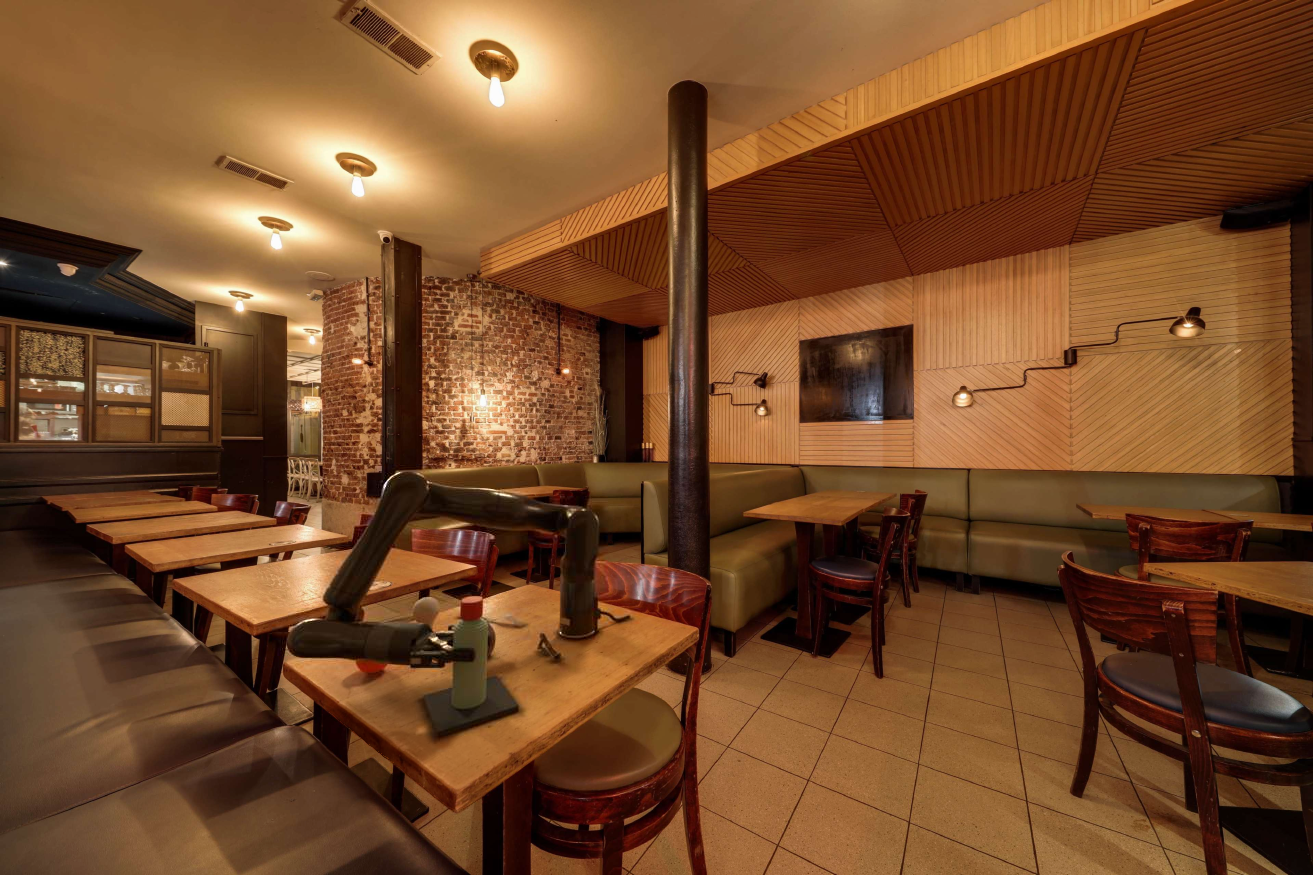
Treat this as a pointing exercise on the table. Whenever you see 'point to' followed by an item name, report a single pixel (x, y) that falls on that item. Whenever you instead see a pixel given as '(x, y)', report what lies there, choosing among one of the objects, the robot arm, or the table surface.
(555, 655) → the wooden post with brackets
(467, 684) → the bottle
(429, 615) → the lightbulb
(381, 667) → the clementine
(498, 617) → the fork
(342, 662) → the table surface
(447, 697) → the coaster
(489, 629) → the vase
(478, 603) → the cap
